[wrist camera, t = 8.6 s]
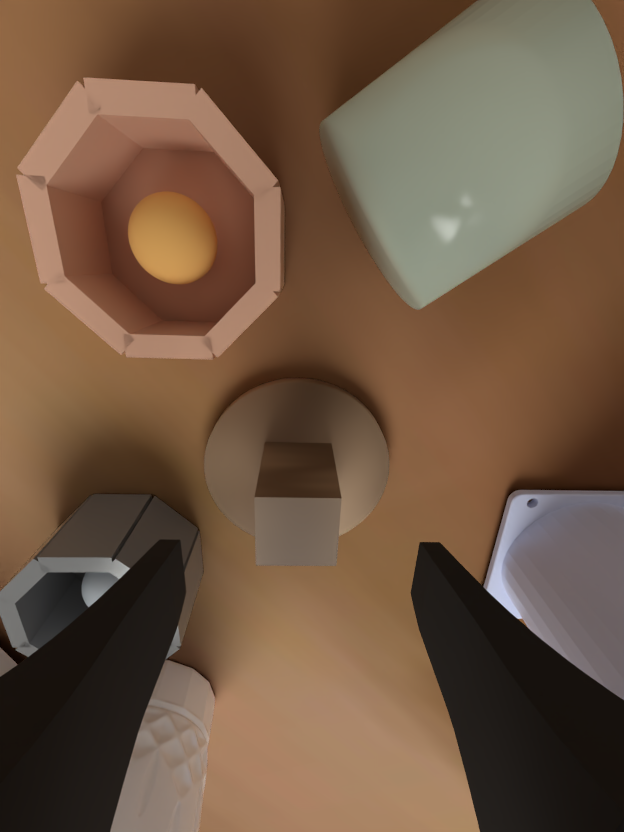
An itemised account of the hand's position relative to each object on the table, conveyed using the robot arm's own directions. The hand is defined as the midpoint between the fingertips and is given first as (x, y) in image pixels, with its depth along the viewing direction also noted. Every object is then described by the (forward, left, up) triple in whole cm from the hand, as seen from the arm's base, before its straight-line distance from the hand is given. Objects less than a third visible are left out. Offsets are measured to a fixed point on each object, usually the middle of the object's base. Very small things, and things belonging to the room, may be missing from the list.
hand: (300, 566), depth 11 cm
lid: (0, 0, -6) cm, 6 cm away
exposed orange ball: (+4, -9, -6) cm, 11 cm away
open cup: (+4, -9, -6) cm, 12 cm away
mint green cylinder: (-4, -11, -6) cm, 13 cm away
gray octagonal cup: (+8, +5, -6) cm, 11 cm away
